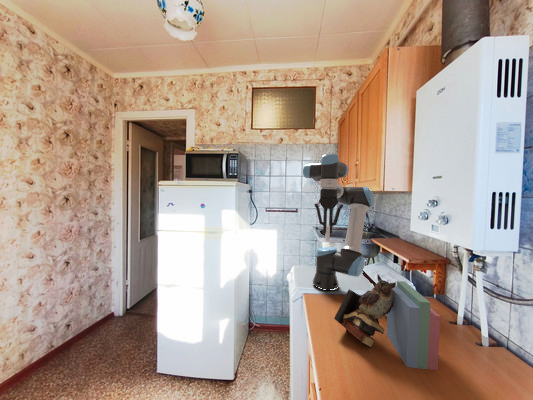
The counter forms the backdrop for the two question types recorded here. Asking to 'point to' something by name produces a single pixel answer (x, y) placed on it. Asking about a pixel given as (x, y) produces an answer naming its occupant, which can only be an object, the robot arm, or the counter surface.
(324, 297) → the counter surface
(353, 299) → the bookend
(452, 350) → the counter surface
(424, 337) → the book row
